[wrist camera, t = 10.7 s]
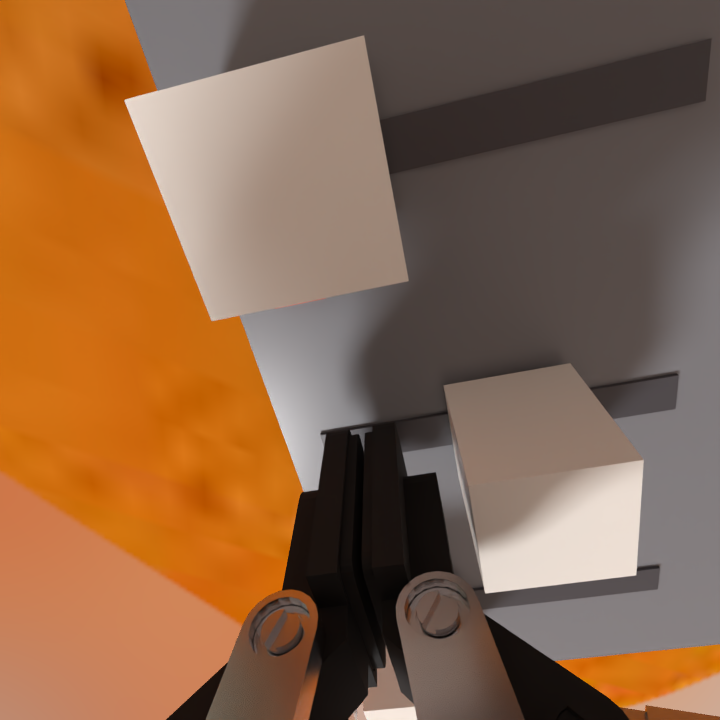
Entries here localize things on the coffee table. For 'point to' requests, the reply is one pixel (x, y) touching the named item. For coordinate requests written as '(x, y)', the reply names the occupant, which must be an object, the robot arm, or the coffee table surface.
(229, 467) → the coffee table surface
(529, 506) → the middle switch
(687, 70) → the switch unit
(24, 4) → the coffee table surface
